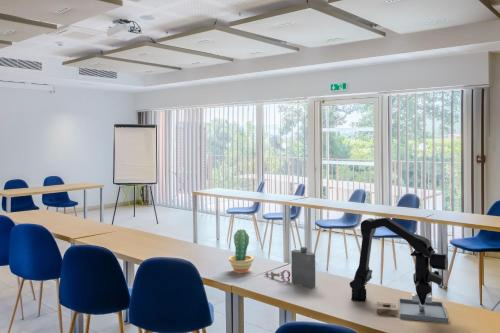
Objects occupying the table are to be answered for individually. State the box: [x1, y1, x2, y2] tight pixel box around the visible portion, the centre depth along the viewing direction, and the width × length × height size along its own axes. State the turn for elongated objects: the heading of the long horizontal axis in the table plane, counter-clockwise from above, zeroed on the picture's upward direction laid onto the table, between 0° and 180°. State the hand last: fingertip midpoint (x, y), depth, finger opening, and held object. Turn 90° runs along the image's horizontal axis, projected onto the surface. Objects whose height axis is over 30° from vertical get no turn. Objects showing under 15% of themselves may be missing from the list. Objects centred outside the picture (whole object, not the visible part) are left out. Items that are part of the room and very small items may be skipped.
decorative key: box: [264, 269, 291, 283], centre depth 244 cm, size 7×1×20 cm
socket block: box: [376, 301, 397, 316], centre depth 194 cm, size 8×8×2 cm
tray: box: [397, 297, 449, 324], centre depth 193 cm, size 19×19×2 cm
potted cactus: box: [228, 228, 255, 274], centre depth 259 cm, size 15×15×25 cm
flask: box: [290, 246, 316, 289], centre depth 233 cm, size 15×6×20 cm, turn 44°
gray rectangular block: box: [411, 293, 433, 312], centre depth 193 cm, size 8×2×7 cm, turn 73°
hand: (421, 301), depth 193 cm, fingers open, 9 cm apart
